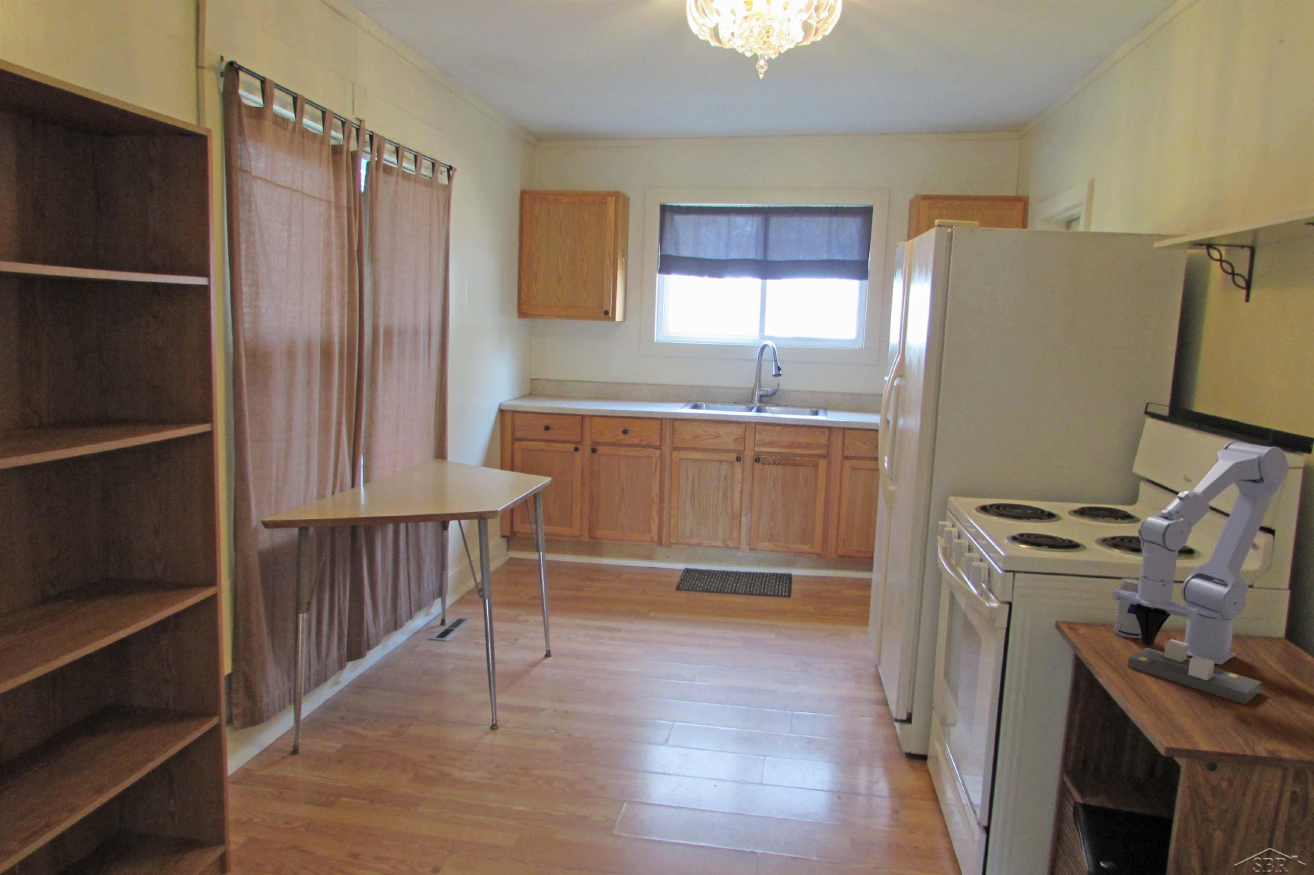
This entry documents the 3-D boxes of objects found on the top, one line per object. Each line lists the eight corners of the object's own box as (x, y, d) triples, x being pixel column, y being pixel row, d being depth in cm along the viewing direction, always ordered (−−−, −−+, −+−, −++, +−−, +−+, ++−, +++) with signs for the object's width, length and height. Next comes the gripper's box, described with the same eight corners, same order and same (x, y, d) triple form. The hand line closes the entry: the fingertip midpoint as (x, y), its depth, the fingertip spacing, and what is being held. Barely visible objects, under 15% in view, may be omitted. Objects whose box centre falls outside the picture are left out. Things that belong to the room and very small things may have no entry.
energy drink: (1146, 640, 171) (1153, 585, 170) (1119, 637, 172) (1126, 583, 171) (1136, 631, 176) (1143, 578, 175) (1110, 628, 177) (1117, 576, 176)
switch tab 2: (1193, 671, 150) (1195, 655, 149) (1212, 676, 147) (1214, 661, 147) (1188, 674, 148) (1190, 659, 147) (1206, 680, 145) (1209, 664, 145)
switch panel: (1146, 656, 162) (1147, 647, 161) (1260, 691, 147) (1262, 681, 147) (1127, 667, 155) (1128, 656, 155) (1244, 704, 141) (1245, 693, 141)
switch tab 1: (1169, 653, 158) (1171, 639, 158) (1186, 659, 156) (1188, 644, 155) (1163, 656, 156) (1165, 642, 156) (1181, 662, 154) (1183, 647, 153)
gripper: (1109, 571, 161) (1100, 636, 163) (1191, 591, 150) (1181, 660, 152) (1123, 566, 165) (1115, 630, 167) (1204, 585, 154) (1195, 653, 156)
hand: (1147, 644), depth 160 cm, fingers closed
